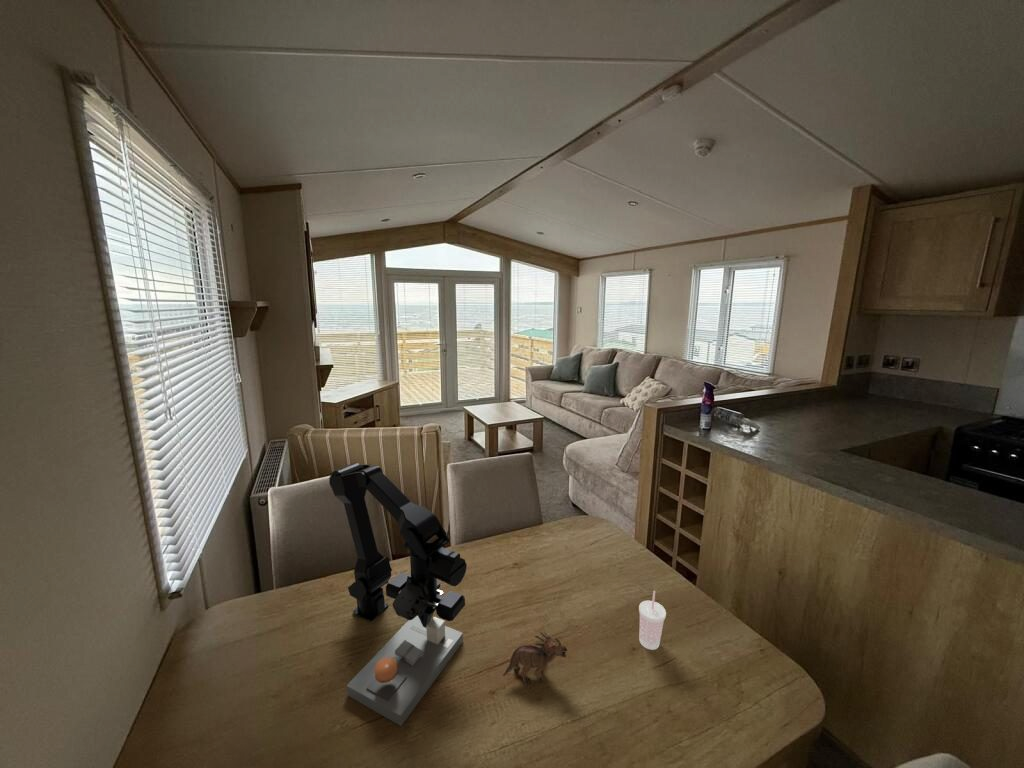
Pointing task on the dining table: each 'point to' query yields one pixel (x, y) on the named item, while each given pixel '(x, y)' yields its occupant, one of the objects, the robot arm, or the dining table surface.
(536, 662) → the dinosaur figurine
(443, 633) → the off-white cube
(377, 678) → the push button
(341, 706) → the dining table surface
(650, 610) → the beverage cup
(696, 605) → the dining table surface
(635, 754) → the dining table surface
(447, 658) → the switch console
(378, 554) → the robot arm
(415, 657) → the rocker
